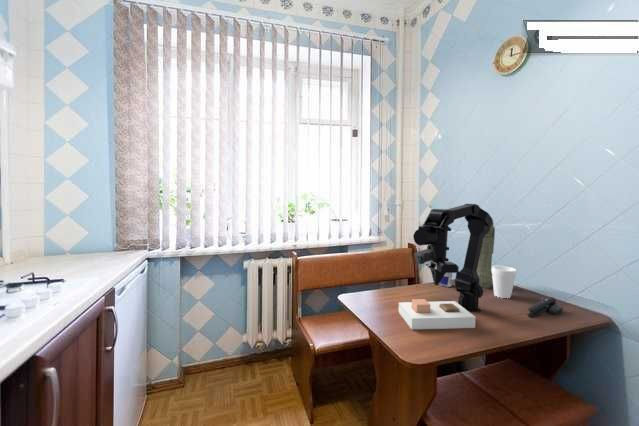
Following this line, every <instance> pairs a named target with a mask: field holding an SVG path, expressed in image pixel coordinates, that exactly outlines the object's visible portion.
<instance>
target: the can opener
mask: <svg viewBox="0 0 639 426" xmlns="http://www.w3.org/2000/svg"><path fill="white" fill-rule="evenodd" d="M556 302H557V300H556V299H555V297H548V298H544V297H540V301H538V302H536V303H534V304H533V305H531V306H530V307H529V308H528V309H527V310H528V313H527V314H526V315H527V316H528V317H529V319H530V318H532V319H533V318H534V319H535V318H536V317H539V316H540V315H542V314H544V313H545V312H548V313H549V314H552V315H555V316H558V315H560V314H562V312H563V311H564V308H563V307H562V306H560V305H559V304H556ZM557 314H558V315H557Z"/></svg>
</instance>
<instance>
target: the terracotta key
mask: <svg viewBox="0 0 639 426" xmlns="http://www.w3.org/2000/svg"><path fill="white" fill-rule="evenodd" d="M411 302H412V309H413V310H414V311H415V312H416V313H430V304H429V303H428V302H429V301H427V299H425V298H422V299H421V298H417V299H414V298H413V299H411Z"/></svg>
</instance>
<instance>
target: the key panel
mask: <svg viewBox="0 0 639 426" xmlns="http://www.w3.org/2000/svg"><path fill="white" fill-rule="evenodd" d="M427 302H428V303H429V304H430V313H416V312H415V311H414V310H413V309H412V301H402V302H398V314H399V315H400V316H401V318H403V320H404V321H405V323H406V324H407V325H408V327H409V328H410V329H411V330H440V329H441V330H443V329H445V330H446V329H448V330H449V329H475V328H476V318H477V317H476V316H475V315H474V314H472V313H471V311H467V310H466V309H465V308H463V307H462V306H461V305H459V304H458V302H457V301H455V300H454V301H453V300H450V301H448V300H446V301H445V300H444V301H440V300H439V301H427ZM440 304H454V305H455V306H456V307H457V308H459V312H445V311H444V310H442V309H441V308H440Z"/></svg>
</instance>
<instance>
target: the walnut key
mask: <svg viewBox="0 0 639 426" xmlns="http://www.w3.org/2000/svg"><path fill="white" fill-rule="evenodd" d="M440 308H441V309H442V310H444V311H445V312H459V308H457V307H456V306H455V305H454V304H440Z"/></svg>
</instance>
